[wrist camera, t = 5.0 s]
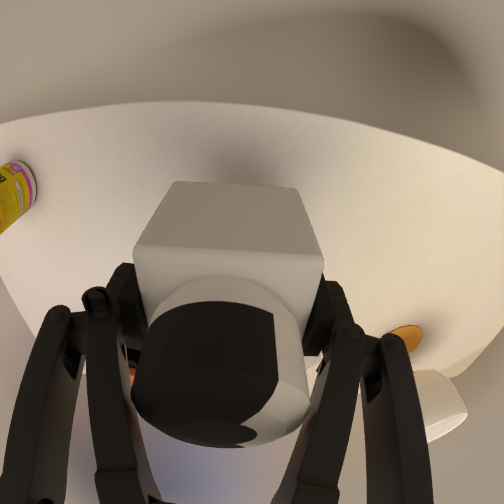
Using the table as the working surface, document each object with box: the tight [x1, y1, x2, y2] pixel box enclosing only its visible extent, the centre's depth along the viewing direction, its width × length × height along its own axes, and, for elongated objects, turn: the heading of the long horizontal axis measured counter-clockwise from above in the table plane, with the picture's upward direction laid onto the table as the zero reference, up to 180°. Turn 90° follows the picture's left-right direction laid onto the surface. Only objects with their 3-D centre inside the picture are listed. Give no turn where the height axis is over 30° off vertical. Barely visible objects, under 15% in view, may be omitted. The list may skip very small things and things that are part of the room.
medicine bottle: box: [130, 181, 324, 448], centre depth 13 cm, size 7×7×12 cm
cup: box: [389, 326, 468, 443], centre depth 33 cm, size 12×12×17 cm
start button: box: [129, 368, 136, 385], centre depth 37 cm, size 4×4×2 cm
